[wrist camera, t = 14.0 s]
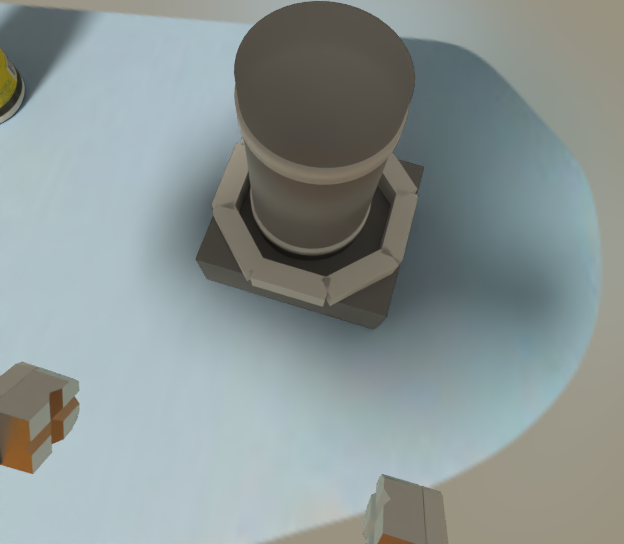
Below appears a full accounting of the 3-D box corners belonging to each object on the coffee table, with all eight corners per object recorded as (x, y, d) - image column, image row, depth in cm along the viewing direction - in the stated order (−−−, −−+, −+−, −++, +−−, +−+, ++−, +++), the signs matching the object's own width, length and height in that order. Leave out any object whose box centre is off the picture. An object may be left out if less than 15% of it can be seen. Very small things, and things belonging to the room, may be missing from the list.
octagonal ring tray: (204, 285, 23) (186, 258, 19) (259, 145, 26) (253, 96, 22) (372, 337, 23) (390, 319, 19) (410, 189, 26) (432, 146, 22)
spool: (236, 242, 21) (202, 119, 12) (273, 147, 22) (266, -21, 14) (348, 277, 21) (394, 175, 12) (377, 177, 22) (435, 26, 14)
